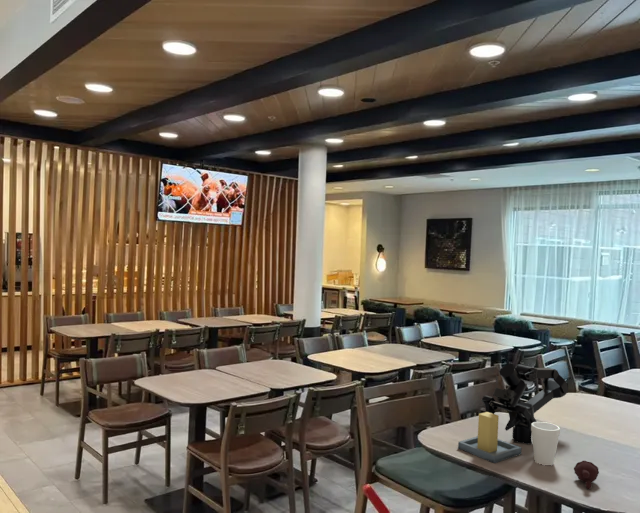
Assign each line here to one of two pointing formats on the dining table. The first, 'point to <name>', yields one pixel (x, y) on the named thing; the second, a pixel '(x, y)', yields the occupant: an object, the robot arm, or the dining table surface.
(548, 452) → the foam cup
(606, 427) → the dining table surface
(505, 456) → the tray
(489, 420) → the block
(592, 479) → the icecream
